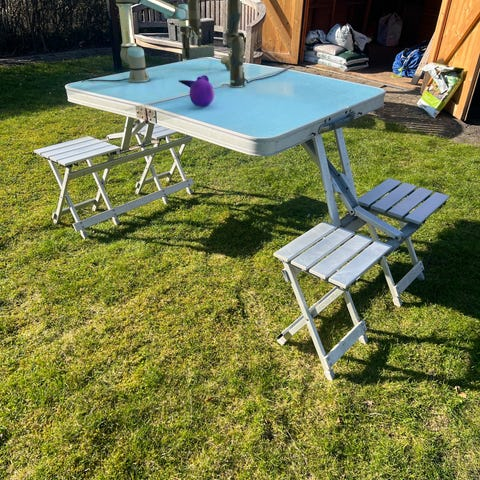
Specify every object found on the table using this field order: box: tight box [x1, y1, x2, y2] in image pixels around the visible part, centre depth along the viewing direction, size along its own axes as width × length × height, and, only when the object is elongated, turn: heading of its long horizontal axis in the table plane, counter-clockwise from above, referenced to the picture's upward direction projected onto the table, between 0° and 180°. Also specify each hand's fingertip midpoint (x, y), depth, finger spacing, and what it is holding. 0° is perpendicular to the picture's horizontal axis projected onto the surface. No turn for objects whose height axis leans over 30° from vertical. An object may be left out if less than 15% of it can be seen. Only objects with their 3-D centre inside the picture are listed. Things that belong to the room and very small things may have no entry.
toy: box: [178, 74, 216, 108], centre depth 268 cm, size 16×18×27 cm
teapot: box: [220, 49, 245, 71], centre depth 370 cm, size 21×12×15 cm, turn 120°
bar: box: [181, 45, 215, 60], centre depth 367 cm, size 26×5×8 cm, turn 112°
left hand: (186, 57), depth 365 cm, fingers closed on bar, 5 cm apart
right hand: (196, 45), depth 290 cm, fingers open, 8 cm apart
